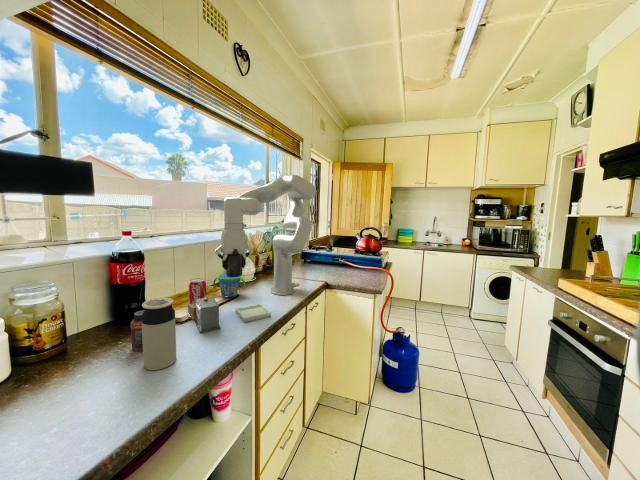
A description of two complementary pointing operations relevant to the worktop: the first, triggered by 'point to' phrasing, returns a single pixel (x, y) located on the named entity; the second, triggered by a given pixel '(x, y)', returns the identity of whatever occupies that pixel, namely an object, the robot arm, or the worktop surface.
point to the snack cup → (228, 285)
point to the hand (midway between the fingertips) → (234, 267)
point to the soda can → (196, 290)
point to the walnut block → (192, 311)
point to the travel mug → (158, 333)
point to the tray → (252, 313)
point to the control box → (207, 314)
